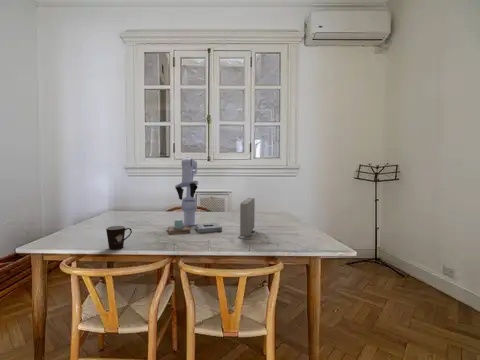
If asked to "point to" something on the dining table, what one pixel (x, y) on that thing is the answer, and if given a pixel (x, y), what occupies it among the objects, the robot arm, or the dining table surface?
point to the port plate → (208, 227)
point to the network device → (247, 218)
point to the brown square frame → (178, 230)
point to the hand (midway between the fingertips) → (186, 198)
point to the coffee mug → (116, 236)
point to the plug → (178, 224)
